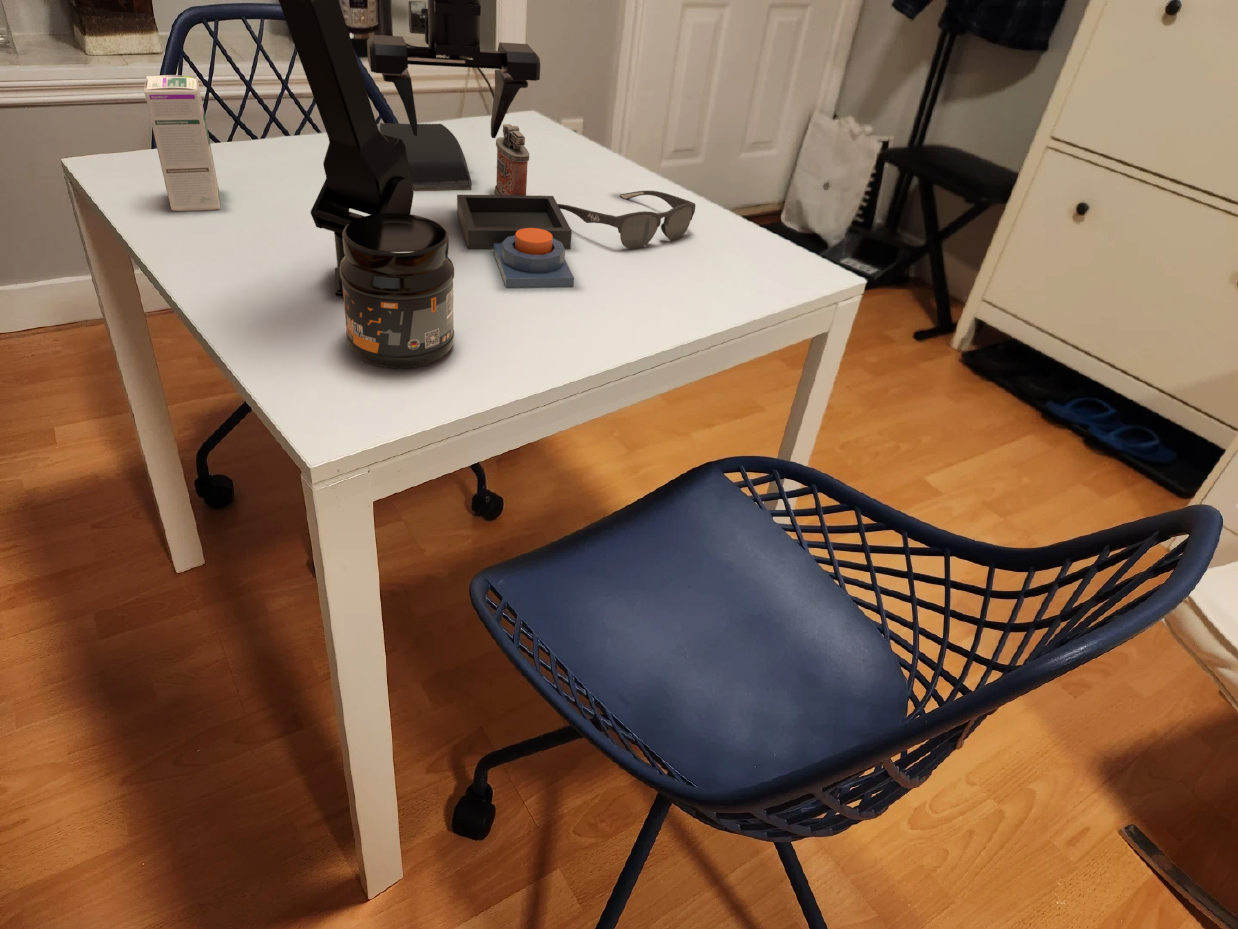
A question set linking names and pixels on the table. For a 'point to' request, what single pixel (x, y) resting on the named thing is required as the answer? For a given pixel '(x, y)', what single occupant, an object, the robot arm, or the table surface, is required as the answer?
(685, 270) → the table surface
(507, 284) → the box
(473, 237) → the holder
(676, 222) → the sunglasses
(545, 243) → the test button
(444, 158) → the hard drive
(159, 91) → the syrup box
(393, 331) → the supplement container
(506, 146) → the lighter
